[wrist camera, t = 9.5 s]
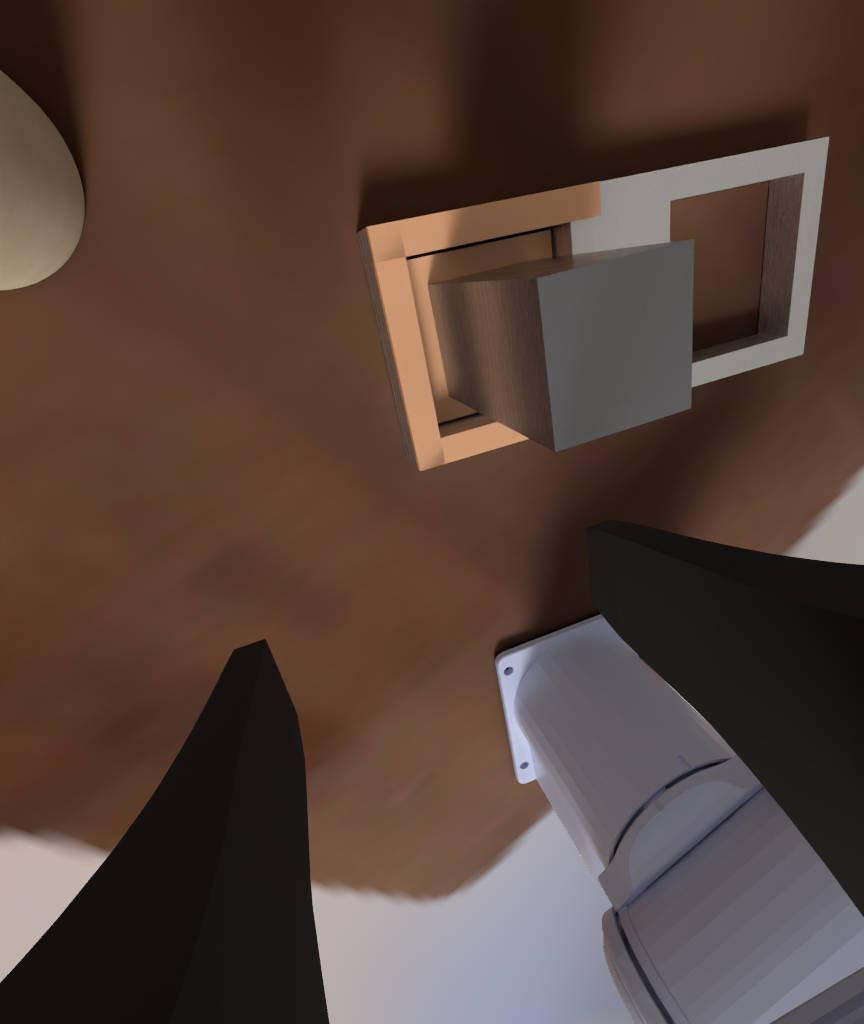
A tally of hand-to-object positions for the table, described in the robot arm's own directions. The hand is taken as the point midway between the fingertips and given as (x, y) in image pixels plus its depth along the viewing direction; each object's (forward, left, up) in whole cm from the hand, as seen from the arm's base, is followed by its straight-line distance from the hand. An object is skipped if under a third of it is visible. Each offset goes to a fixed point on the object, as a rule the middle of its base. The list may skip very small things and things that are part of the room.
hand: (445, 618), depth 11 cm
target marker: (+4, -6, -10) cm, 13 cm away
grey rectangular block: (+4, -6, -10) cm, 12 cm away
